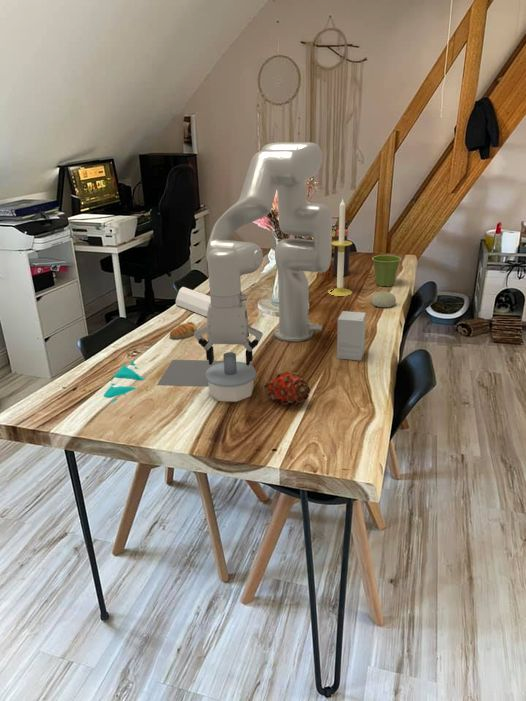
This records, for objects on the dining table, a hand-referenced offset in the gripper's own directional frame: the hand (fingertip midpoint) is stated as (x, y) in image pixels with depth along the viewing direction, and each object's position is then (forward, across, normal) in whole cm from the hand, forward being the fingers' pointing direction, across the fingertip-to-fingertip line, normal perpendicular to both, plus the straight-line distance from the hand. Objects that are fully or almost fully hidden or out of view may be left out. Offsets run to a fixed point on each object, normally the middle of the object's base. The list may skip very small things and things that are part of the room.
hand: (229, 362), depth 133 cm
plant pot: (+9, -49, -97) cm, 109 cm away
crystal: (+9, +24, -64) cm, 68 cm away
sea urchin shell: (+9, -46, -71) cm, 85 cm away
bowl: (+8, 0, 0) cm, 8 cm away
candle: (+9, -30, -85) cm, 91 cm away
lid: (+3, 0, 0) cm, 3 cm away
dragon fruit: (+9, -15, +4) cm, 18 cm away
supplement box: (+9, -32, -25) cm, 42 cm away
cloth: (+9, +30, -4) cm, 32 cm away
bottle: (+9, -31, -111) cm, 116 cm away
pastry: (+9, +23, -39) cm, 46 cm away
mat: (+8, +13, -10) cm, 18 cm away
